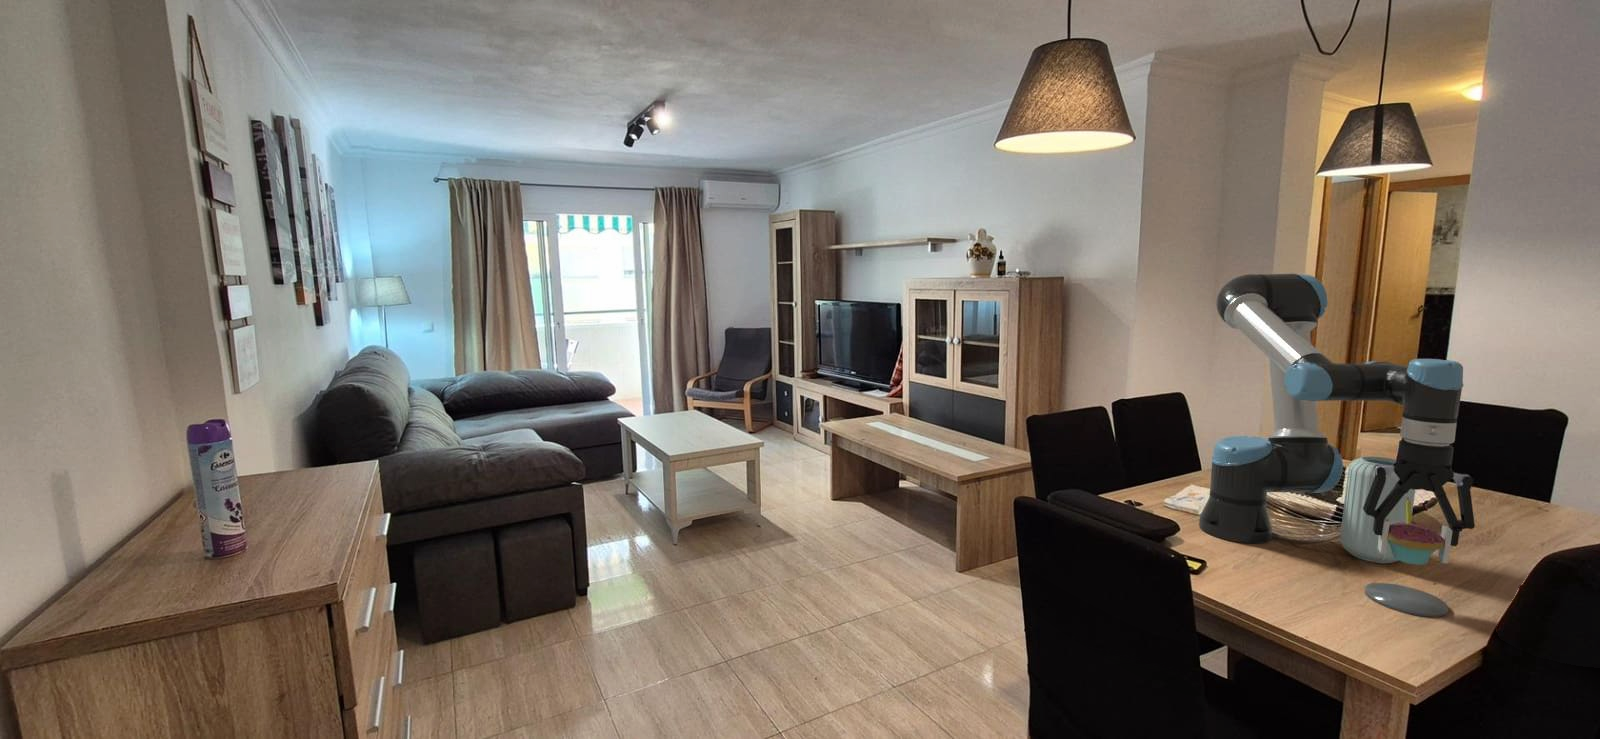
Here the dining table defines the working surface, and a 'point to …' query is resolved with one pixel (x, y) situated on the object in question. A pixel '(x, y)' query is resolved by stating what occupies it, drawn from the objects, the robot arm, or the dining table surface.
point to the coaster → (1406, 599)
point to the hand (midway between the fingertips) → (1411, 555)
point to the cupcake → (1413, 540)
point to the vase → (1356, 522)
